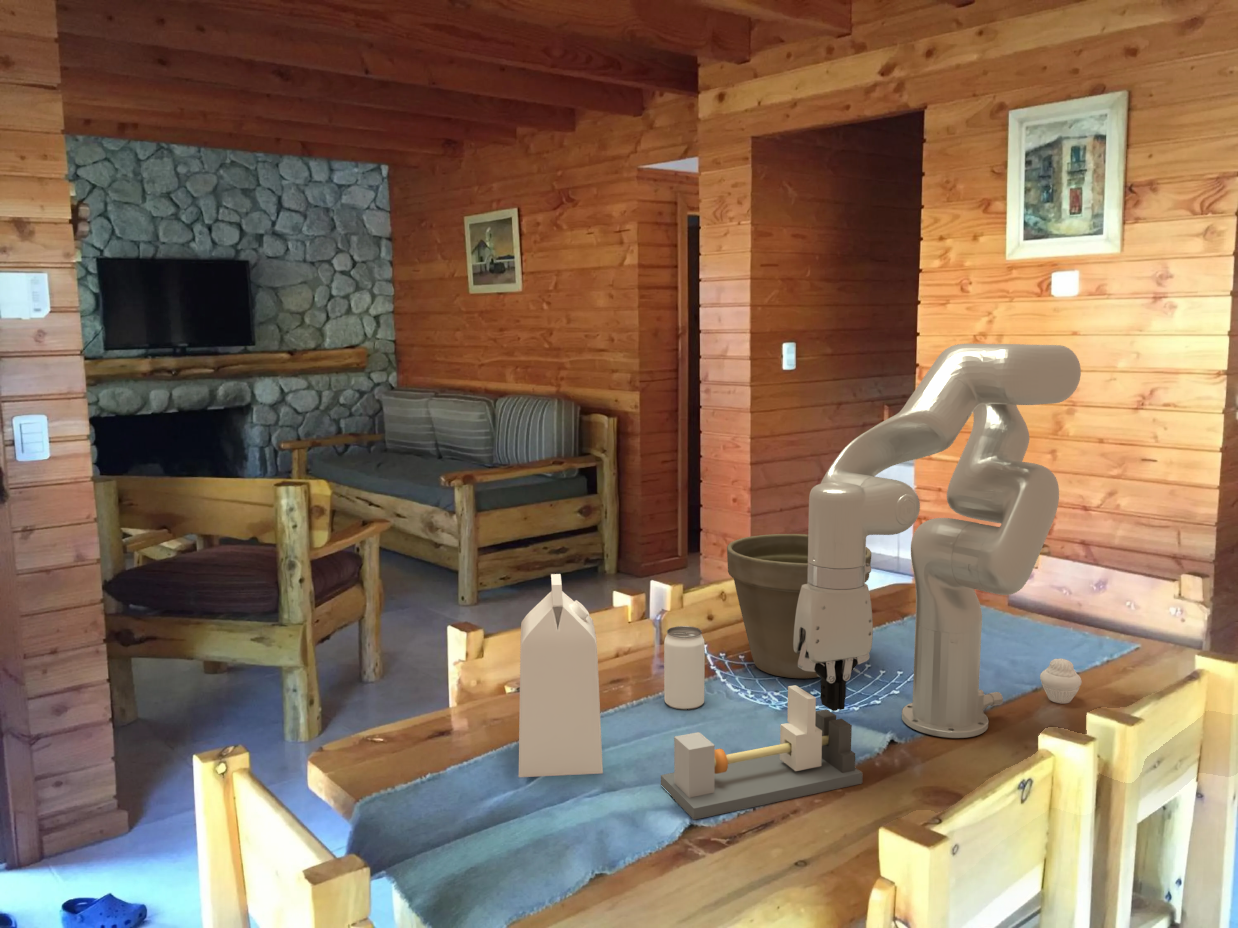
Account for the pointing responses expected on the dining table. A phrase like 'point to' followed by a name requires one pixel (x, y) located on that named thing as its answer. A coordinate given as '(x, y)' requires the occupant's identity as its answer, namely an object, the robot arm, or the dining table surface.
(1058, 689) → the muffin
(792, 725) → the sleeve
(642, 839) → the dining table surface
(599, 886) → the dining table surface
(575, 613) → the milk
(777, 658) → the plant pot
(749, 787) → the slider mechanism
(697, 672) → the can
